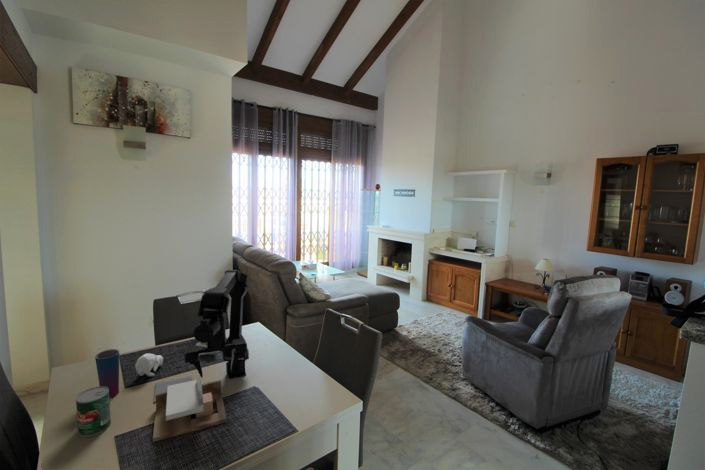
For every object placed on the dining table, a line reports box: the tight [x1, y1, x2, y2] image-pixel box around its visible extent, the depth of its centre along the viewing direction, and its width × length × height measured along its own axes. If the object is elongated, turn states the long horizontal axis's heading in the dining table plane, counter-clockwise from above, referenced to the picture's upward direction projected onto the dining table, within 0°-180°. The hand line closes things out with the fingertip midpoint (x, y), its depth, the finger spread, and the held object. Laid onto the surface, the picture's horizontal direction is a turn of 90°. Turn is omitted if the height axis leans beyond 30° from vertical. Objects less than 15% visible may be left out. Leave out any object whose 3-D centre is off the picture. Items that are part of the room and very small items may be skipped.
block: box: [195, 393, 214, 419], centre depth 109 cm, size 5×5×5 cm
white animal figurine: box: [134, 353, 164, 377], centre depth 132 cm, size 6×8×12 cm
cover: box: [166, 375, 204, 420], centre depth 106 cm, size 10×16×4 cm, turn 27°
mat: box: [153, 375, 193, 404], centre depth 121 cm, size 12×12×1 cm
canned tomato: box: [75, 386, 112, 438], centre depth 100 cm, size 8×8×11 cm
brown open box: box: [152, 379, 227, 443], centre depth 107 cm, size 20×16×6 cm
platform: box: [195, 341, 217, 356], centre depth 148 cm, size 12×18×7 cm, turn 79°
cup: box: [94, 348, 120, 399], centre depth 117 cm, size 7×7×15 cm
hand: (217, 373), depth 110 cm, fingers open, 9 cm apart
